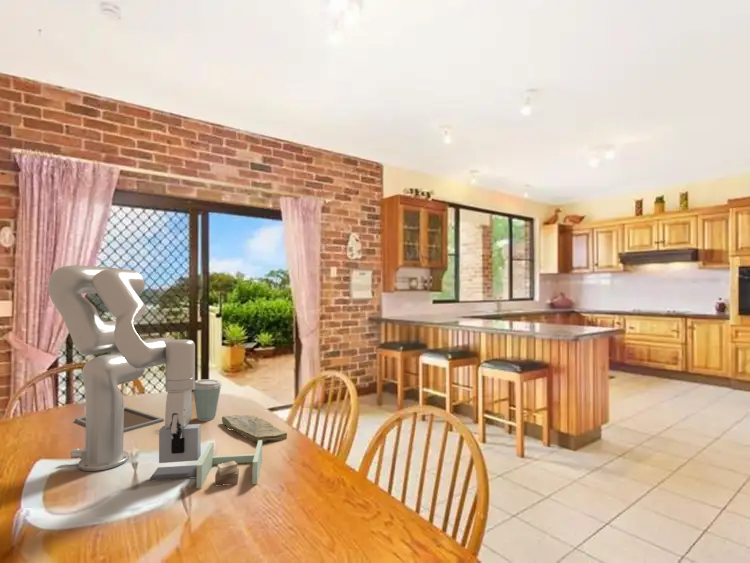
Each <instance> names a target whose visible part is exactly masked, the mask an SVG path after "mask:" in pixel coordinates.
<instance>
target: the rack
mask: <svg viewBox="0 0 750 563" xmlns="http://www.w3.org/2000/svg"><path fill="white" fill-rule="evenodd" d="M256 443H257V444H256V448H255V450H254V453H246V454H243V453H242V454H227V455H214V454H215V452H214V450H215V445H214V444H215V443H214V442H209V443H208V445H207V446H206V448H205V450H204V452H203V453H202V456H200V458H199V459H200V460H198V463H197V464H196V465H197V478H196V489H197V488H198V489H203V488H202V487H203V486H204V484H205V482H206V480H207V478H208V476H209V473H210V470H211V469H212V467H213V464H214V465H219V464H222V463H227V462H231V461H235V462H236V463H237V464H244V463H245V462H246V463H252V475H251V476H252V481H251V483H252V484H256V485H258V481H259V477H260V472H261V467H262V462H263V443H262V440H258V442H256ZM246 463H245V464H246ZM207 475H208V476H207ZM206 477H207V478H206Z"/></svg>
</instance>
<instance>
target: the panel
mask: <svg viewBox="0 0 750 563" xmlns="http://www.w3.org/2000/svg"><path fill="white" fill-rule="evenodd" d="M190 477H197V464H195V465H177V466H162V467H161V466H160V467H159V466H158V467H157V468H156V470H155V471H154V473H152V474H151V476H150V478H149V481H148V482H152V480H156V481H168V479H171V480H184V478H186V479H191V478H190Z"/></svg>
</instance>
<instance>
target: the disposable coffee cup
mask: <svg viewBox="0 0 750 563" xmlns="http://www.w3.org/2000/svg"><path fill="white" fill-rule="evenodd" d="M221 388H222V382H221V381H219V380H217V379H198V380H197V379H195V389H193V390H192V391H193V396H194V397H193V398H194V403H195V405H194V406H195V413H196V418H197V420H198V421H201V422H206V421H207V422H208V421H212V420H214V419H215V418H216V415H217V410H218V405H219V404H218V403H219V399H220V393H221Z"/></svg>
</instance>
